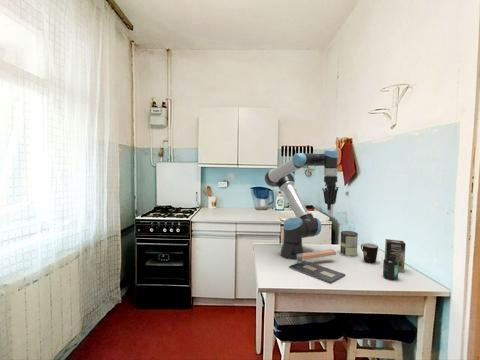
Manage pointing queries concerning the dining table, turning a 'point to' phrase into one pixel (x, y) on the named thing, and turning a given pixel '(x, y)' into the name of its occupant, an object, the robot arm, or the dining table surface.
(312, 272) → the label plate
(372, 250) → the coffee mug
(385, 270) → the supplement bottle
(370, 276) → the dining table surface
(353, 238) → the coffee can
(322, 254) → the swing bar
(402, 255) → the coffee box
